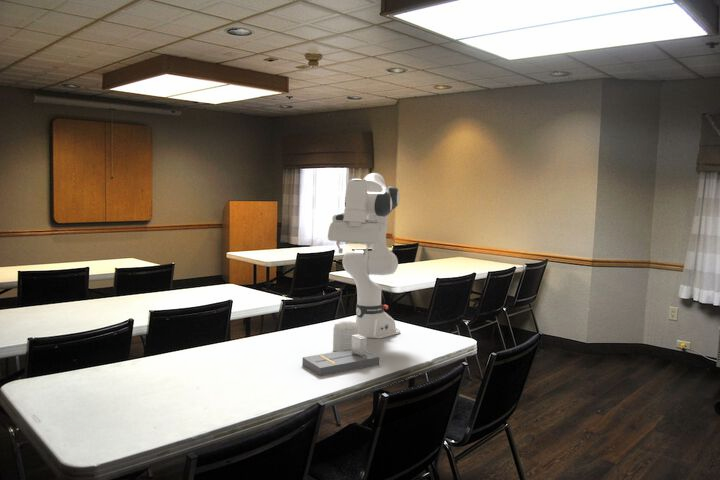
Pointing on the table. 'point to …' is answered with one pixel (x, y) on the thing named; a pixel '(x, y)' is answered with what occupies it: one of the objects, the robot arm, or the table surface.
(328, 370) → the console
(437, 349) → the table surface
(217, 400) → the table surface
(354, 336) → the fader
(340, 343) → the photo printer
